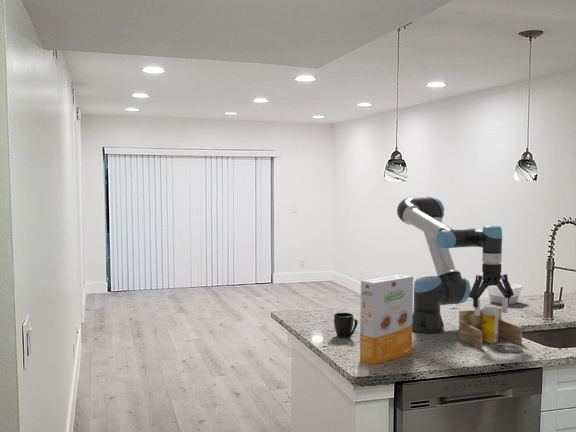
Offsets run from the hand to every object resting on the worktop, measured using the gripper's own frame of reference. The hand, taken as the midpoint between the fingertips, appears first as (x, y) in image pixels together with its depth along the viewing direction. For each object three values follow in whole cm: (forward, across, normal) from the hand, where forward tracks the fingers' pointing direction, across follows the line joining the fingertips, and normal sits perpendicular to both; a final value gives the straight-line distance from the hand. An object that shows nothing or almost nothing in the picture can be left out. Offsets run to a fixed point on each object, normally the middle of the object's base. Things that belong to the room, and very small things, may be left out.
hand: (491, 314), depth 242 cm
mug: (+12, -55, +24) cm, 61 cm away
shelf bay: (+12, 0, 0) cm, 12 cm away
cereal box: (+12, -51, -6) cm, 53 cm away
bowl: (+11, +57, +64) cm, 87 cm away
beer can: (+12, 0, 0) cm, 12 cm away
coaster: (+12, 0, -12) cm, 16 cm away
